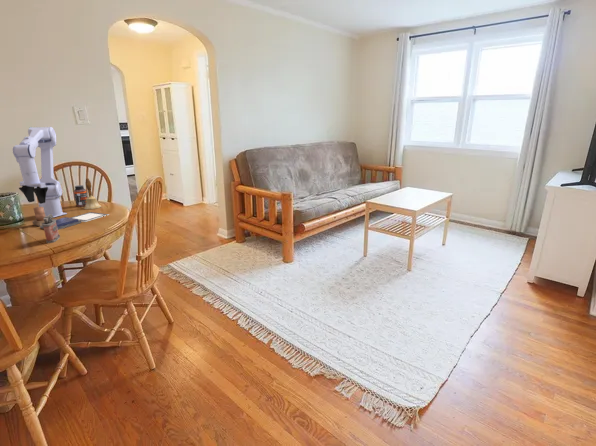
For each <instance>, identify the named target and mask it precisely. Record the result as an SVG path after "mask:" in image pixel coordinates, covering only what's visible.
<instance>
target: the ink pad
mask: <svg viewBox="0 0 596 446" xmlns="http://www.w3.org/2000/svg"><path fill="white" fill-rule="evenodd" d="M42 224H43V223H42ZM78 224H82V221H79V220H78V219H75V218H71V217H66V216H64V217H61V218H57V219H56V225H57V229H58V231H59V230H62V229H65V228H69V227H72V226H75V225H78ZM39 228H40V229H43V230H44V227H43V226H39Z"/></svg>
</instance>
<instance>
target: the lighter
mask: <svg viewBox="0 0 596 446" xmlns="http://www.w3.org/2000/svg"><path fill="white" fill-rule="evenodd" d="M52 217H53V215H52V214H49V215H48V216H45V217H44V221H45V222H44V223H43V224H42V226H43V227H44V229H43V231H44V234H45V238H46V241H45V243H46V244H53V243H56V242H57V241H58V240H59V239H60V238H61V236H60V233H59V230H58V229H57V225H56V220H57V219H55V218H54V217H53V218H54V219H53V218H52Z"/></svg>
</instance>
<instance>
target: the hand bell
mask: <svg viewBox="0 0 596 446" xmlns="http://www.w3.org/2000/svg"><path fill="white" fill-rule="evenodd" d="M85 187H86V190H87V197H88V198H86V206H84V207H83V210H97V209H100V208H102V205H101V204H99V202H98V201H97V198H96V197H95V196H93V192H92V181H91V180H90V178H88V177H87V178H85Z"/></svg>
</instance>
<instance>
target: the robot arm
mask: <svg viewBox="0 0 596 446" xmlns="http://www.w3.org/2000/svg"><path fill="white" fill-rule="evenodd" d="M27 135H28V136H25V137H23V139H22V140H21V142H19V144H15V145H14V146H12V154H13V156H14V158H15V160H16V162H17V163H18V165H19V166H18V167H19V170H20V173H21V177H22V180H21V181H19V185H20V187H18V189H19V191H20V192H21V193H22V194H23V195H24V197H25V198H26V200H27V202H28V203H33V202H34V203H35V196H36V198H37V200H38V207H43V208H44V212H45V216H48V215H49V214H52V215H53V217H52V218H51V219H53V218H56V217H61V216H63V215H67V214H68V213H67V212H63V208H62V205H61V203H62V202H61V200H60V198H61V196H63V190H62V185H61V184H62V183H60V181H59V180H57V179H55V177H54V176H55V175H54V172H55V171H54V147H55V146H57V134H56V131H55V128H53V127H52V126H43V127H41V126H39V127H38V126H36V127H35V126H34V127H33V126H30V127H29V128H28V129H27ZM37 148H40V162H41V164H40V168H41V170H40V171H41V178H40V177H39V172H38V168H37V164H36V160H35V157H36V153H37Z"/></svg>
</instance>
